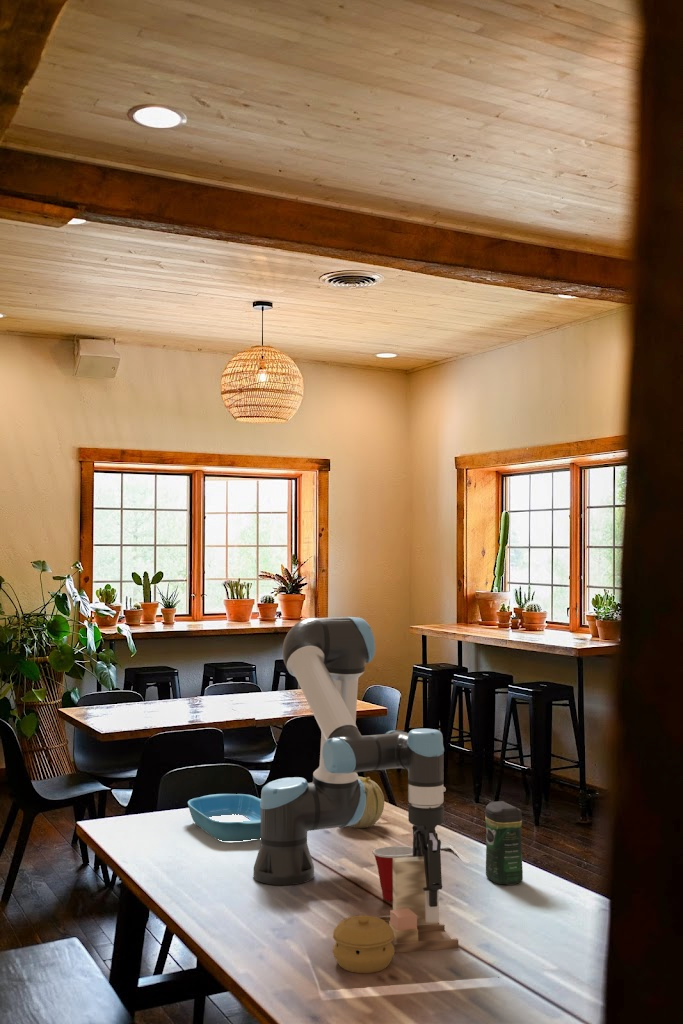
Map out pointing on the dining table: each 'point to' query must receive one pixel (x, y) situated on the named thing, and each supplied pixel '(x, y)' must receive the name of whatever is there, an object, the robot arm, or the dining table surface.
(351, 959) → the pot
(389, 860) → the plastic cup
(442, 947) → the rack
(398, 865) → the birch block
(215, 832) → the casserole dish
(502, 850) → the coffee jar
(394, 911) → the offcut terracotta
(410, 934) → the offcut oak
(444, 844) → the spoon
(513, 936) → the dining table surface
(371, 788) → the cantaloupe
